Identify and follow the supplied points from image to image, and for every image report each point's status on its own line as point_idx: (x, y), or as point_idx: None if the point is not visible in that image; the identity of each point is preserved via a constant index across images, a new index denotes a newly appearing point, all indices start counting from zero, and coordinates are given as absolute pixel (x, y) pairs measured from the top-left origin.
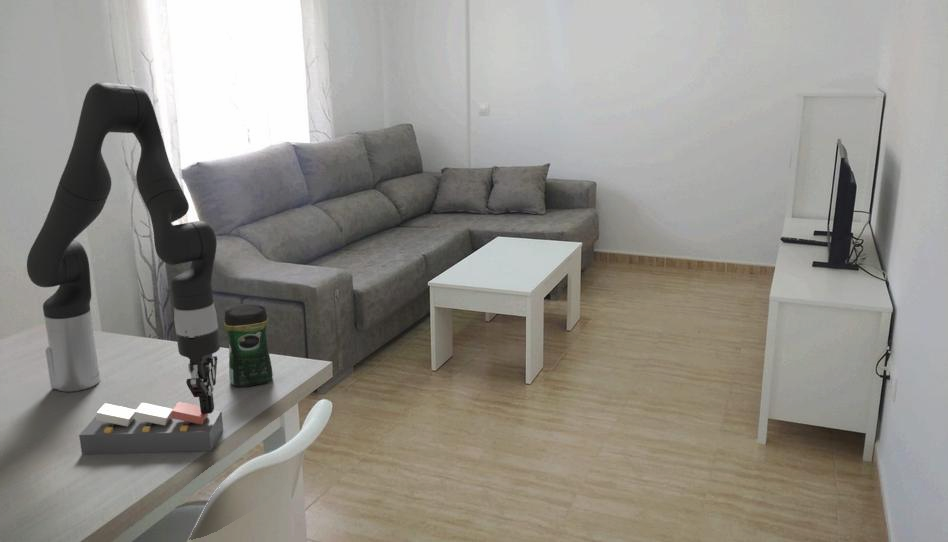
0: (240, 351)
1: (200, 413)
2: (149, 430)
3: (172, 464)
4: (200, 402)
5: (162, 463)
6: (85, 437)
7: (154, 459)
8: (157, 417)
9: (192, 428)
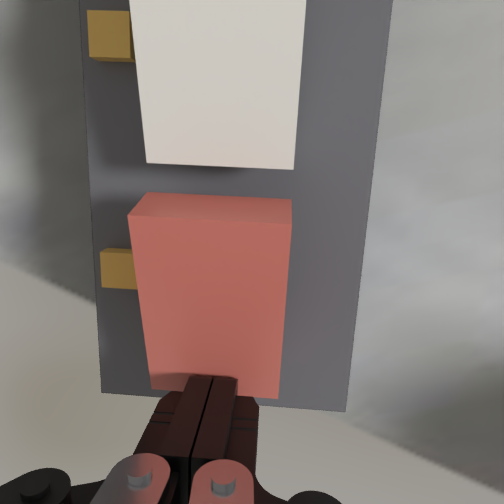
0: None
1: (187, 369)
2: (109, 61)
3: (30, 214)
4: (171, 423)
5: (36, 169)
6: None
7: (68, 123)
8: (142, 96)
9: (138, 305)
